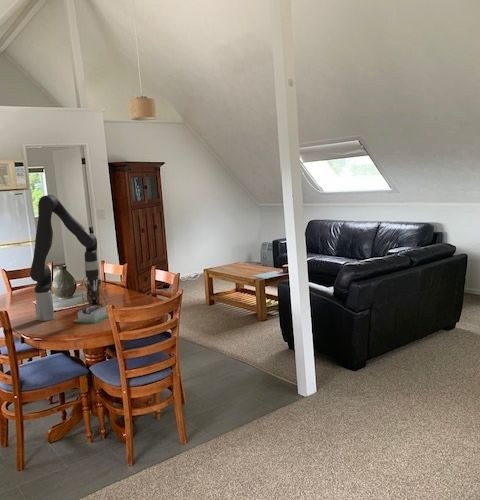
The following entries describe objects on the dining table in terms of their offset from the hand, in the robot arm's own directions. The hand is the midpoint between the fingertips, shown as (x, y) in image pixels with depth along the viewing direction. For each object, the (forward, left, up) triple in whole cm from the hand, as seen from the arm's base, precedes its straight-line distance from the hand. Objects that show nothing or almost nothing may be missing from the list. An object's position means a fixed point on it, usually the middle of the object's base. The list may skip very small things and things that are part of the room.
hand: (94, 296), depth 296 cm
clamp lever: (0, -2, -8) cm, 8 cm away
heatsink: (0, -2, -12) cm, 13 cm away
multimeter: (-15, +18, -13) cm, 27 cm away
